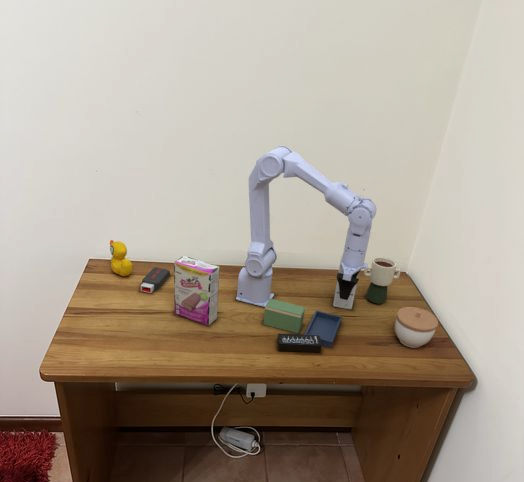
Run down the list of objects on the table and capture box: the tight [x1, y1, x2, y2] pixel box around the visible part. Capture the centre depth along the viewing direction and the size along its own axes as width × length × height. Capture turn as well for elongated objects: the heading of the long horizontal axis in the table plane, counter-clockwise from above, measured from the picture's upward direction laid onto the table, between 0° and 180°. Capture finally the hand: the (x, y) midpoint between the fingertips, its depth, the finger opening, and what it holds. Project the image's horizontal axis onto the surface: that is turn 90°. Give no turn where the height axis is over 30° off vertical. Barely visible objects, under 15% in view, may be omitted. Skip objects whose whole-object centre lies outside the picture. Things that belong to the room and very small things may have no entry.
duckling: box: [109, 239, 134, 277], centre depth 149 cm, size 11×5×10 cm, turn 39°
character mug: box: [362, 256, 402, 304], centre depth 147 cm, size 11×7×13 cm, turn 90°
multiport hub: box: [276, 333, 323, 353], centre depth 126 cm, size 4×11×2 cm, turn 92°
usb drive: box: [139, 266, 171, 294], centre depth 147 cm, size 5×12×3 cm, turn 167°
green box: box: [263, 298, 306, 334], centre depth 133 cm, size 10×4×6 cm, turn 71°
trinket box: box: [394, 306, 439, 349], centre depth 131 cm, size 11×11×9 cm
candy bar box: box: [173, 255, 220, 327], centre depth 130 cm, size 11×5×16 cm, turn 65°
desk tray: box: [303, 309, 343, 349], centre depth 133 cm, size 8×13×2 cm, turn 161°
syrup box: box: [332, 255, 359, 310], centre depth 143 cm, size 6×6×14 cm
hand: (346, 292), depth 133 cm, fingers open, 7 cm apart
